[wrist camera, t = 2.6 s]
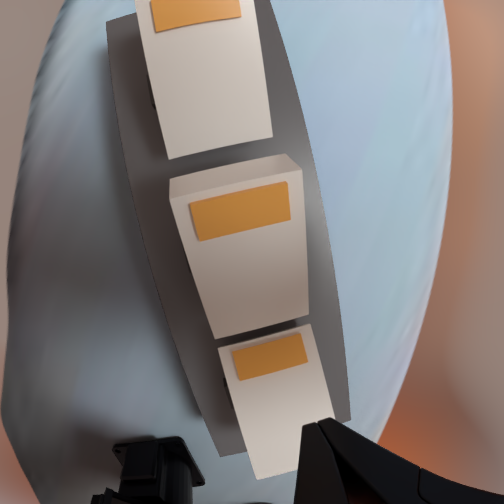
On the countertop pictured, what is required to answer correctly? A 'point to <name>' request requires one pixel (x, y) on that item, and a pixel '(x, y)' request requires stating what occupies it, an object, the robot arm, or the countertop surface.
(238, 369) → the rocker
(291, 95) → the rocker switch panel
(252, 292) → the block
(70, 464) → the countertop surface
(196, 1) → the rocker
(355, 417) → the countertop surface
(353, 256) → the countertop surface
